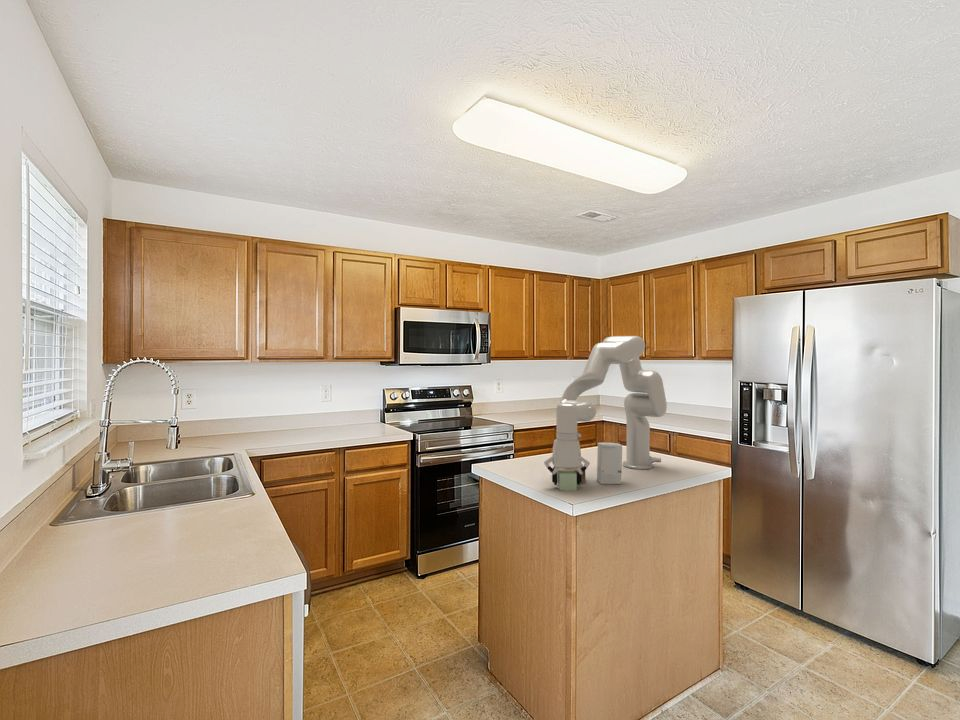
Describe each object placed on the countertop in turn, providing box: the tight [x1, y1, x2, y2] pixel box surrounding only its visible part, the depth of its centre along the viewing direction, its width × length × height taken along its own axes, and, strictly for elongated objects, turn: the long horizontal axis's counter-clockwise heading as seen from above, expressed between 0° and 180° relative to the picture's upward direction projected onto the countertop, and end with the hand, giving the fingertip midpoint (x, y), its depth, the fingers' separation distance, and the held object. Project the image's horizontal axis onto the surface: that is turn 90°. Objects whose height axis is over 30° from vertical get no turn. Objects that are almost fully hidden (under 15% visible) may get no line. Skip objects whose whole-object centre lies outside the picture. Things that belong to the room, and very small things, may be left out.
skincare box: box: [596, 442, 623, 485], centre depth 183 cm, size 8×6×15 cm
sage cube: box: [556, 470, 578, 491], centre depth 176 cm, size 6×6×6 cm
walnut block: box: [556, 463, 586, 484], centre depth 188 cm, size 11×11×5 cm
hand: (566, 484), depth 176 cm, fingers open, 7 cm apart
